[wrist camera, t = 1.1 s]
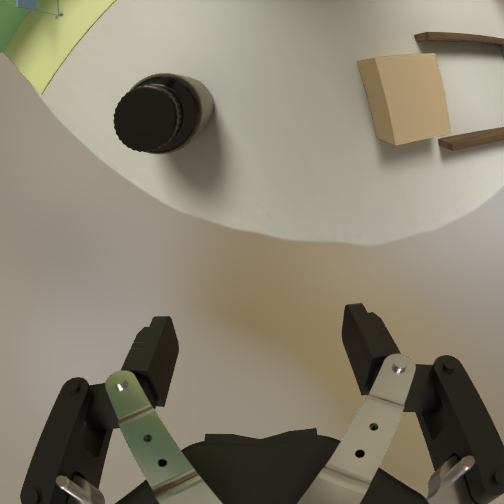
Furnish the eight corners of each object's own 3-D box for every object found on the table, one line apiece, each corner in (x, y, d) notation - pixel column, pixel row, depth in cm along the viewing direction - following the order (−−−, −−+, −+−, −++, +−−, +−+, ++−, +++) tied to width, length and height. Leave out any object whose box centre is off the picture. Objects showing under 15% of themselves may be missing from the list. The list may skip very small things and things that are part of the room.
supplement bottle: (139, 108, 27) (83, 120, 16) (185, 64, 24) (148, 49, 14) (179, 151, 29) (143, 185, 19) (228, 110, 27) (215, 119, 17)
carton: (356, 61, 24) (374, 57, 20) (411, 55, 23) (434, 53, 19) (376, 137, 29) (395, 145, 24) (427, 126, 28) (451, 134, 23)
